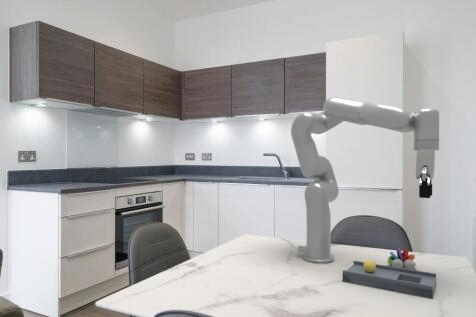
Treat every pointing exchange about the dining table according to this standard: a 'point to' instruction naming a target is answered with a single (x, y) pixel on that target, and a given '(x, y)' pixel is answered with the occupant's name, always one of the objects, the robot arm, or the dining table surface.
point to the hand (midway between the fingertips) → (425, 196)
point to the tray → (392, 279)
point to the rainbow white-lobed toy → (402, 260)
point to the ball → (369, 266)
